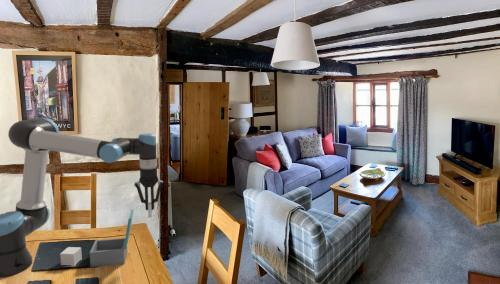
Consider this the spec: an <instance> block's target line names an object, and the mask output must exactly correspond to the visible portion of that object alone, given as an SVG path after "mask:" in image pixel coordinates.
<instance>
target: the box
mask: <svg viewBox="0 0 500 284" xmlns="http://www.w3.org/2000/svg"><path fill="white" fill-rule="evenodd" d="M125 238H126V237H120V238H119V237H118V238H116V237H115V238H108V239H105V238H104V239H95V240H94V242H93V245H92V247H91V249H90V250H89V264H90V268H98V267H108V266H117V265H119V266H120V265H124V264H125V262H126V259H127V253H128V246H127V247H126V249H124V244H125Z"/></svg>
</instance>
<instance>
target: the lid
mask: <svg viewBox="0 0 500 284" xmlns="http://www.w3.org/2000/svg"><path fill="white" fill-rule="evenodd" d="M133 214H134V209H130V213H129V217H128V219H127V220H128V221H127V227H126V234H125V237H124V238H125V244H124V249H126V247H127V248H128V242H129V240H130V234H131V229H132V228H131V227H132V221H133V216H134V215H133Z"/></svg>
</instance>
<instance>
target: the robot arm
mask: <svg viewBox="0 0 500 284" xmlns="http://www.w3.org/2000/svg"><path fill="white" fill-rule="evenodd" d="M7 134H8V139H9V141H10V142H11V144H12V145H14V146H16V147H18V148H20V149H23V150H24V153H25V154H24V164H23V174H22V181H21V182H22V183H21V193H20V200H19V201H17V202H16V204H15V210H12V211H6V212H5V213H1V214H0V278H2V277H9V276H12V275H16V274H19V273H22V272H23V271H25V270H27V269H29V268H30V267H31V266H32V265H33V257H32V256H33V255H31V252H30V251H29V249H28V248H27V241H26V237H27V236H28V235H31V234H32V233H34V232H35V231H37V230H38V229H41V228H42V227H43V226H45V224H47V222H48V221H49V219H50V216H51V215H50V214H51V213H50V209H49V208H48V206H47V203H46V201H44V192H45V183H46V174H47V164H48V158H49V157H48V155H49V152H50V151H52V152H59V153H66V154H69V155H70V154H72V155H75V156H76V155H77V156H84V157H90V158H95V159H101V160H102V161H103V162H104V163H106V164H107V163H108V164H111V163H114V162H117V161H119V160H121V159H123V158H124V157H126V156H128V155H129V156H130V155H131V156H132V155H134V156H135V155H137V156H138V157H139V179H138V181H136V182H134V187H135V188H136V190H137V193H138V196H139V199H140V202H141V204H145V210H146V211H147V213H148V217H147V218H152V217H153V211H154V210H155V203H158V201H159V197H160V194H161V193H160V192H161V189H162V186H163V185H164V181H163V180H160V179H159V177H158V167H157V166H158V158H157V157H158V156H157V136H156V134H154V133H150V132H149V133H140V134H138V137H136V138H135V137H115V138H113V139H112V140H111V141H106V140H102V139H98V138H97V139H96V138H90V137H84V136H78V135H73V134H66V133H62V132H60V128H59V126H58V125H57V124H56V122H54V121H53V120H52V119H49V118H45V117H36V118H31V119H30V118H29V119H25V120H19V121H16V122H15V123H13V124H12V125H11V126H10V127H9V130H8V133H7ZM156 184H157V185H158V186H157V190H156V194H155V190H154V187H156ZM141 185H142V186H143V188H144V195H143V191H142V188H141ZM149 188H150V201H149Z"/></svg>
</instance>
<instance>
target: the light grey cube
mask: <svg viewBox="0 0 500 284" xmlns="http://www.w3.org/2000/svg"><path fill="white" fill-rule="evenodd" d="M82 256H83V255H82V247H80V246H78V247H75V246H74V247H73V246H68V247H66V248H65V249H64V250H63V251H62V252H61V253H59V257H60V266H61V265H71V266H70V267H75V266H77V265H78V264H79V263H80V262H81V261H82V260H83V257H82ZM80 260H81V261H80ZM79 261H80V262H79ZM78 262H79V263H78ZM77 263H78V264H77ZM76 264H77V265H76Z"/></svg>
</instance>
